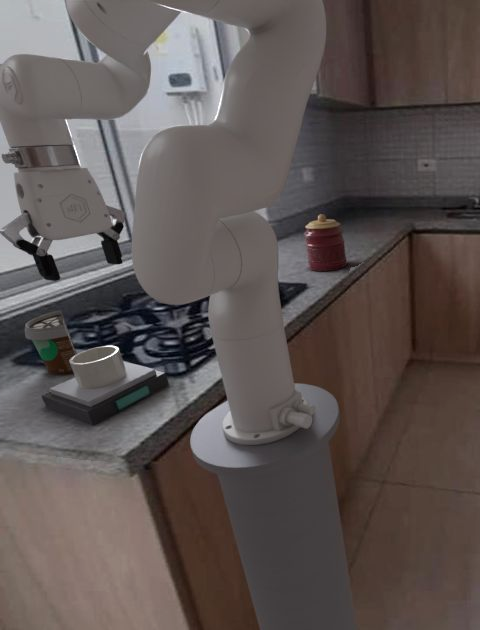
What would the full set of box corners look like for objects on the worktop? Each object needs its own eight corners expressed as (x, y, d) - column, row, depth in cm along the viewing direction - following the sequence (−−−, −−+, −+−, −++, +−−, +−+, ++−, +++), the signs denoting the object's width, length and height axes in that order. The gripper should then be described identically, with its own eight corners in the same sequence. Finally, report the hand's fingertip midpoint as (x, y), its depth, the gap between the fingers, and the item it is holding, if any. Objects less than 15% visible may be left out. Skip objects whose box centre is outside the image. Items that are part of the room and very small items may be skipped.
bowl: (135, 372, 76) (127, 349, 74) (94, 392, 70) (84, 367, 69) (111, 366, 79) (103, 343, 77) (69, 384, 73) (60, 360, 72)
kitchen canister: (309, 263, 156) (302, 213, 149) (346, 260, 157) (341, 210, 151) (307, 273, 144) (299, 218, 137) (347, 269, 146) (341, 215, 139)
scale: (171, 385, 78) (166, 368, 77) (95, 426, 67) (87, 407, 66) (123, 372, 84) (118, 356, 83) (46, 408, 73) (38, 390, 72)
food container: (40, 363, 90) (21, 317, 86) (77, 353, 93) (60, 309, 90) (41, 385, 81) (20, 335, 77) (82, 373, 84) (64, 325, 81)
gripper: (-11, 162, 57) (38, 289, 63) (121, 156, 71) (150, 259, 77) (-40, 164, 60) (10, 285, 66) (92, 158, 74) (123, 257, 80)
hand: (85, 271), depth 72 cm, fingers open, 9 cm apart
